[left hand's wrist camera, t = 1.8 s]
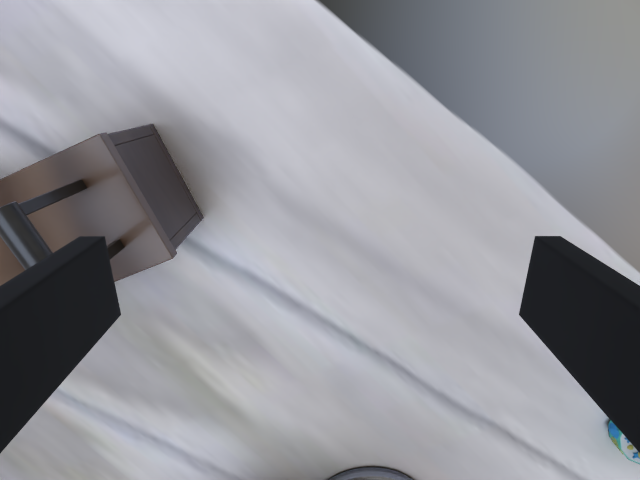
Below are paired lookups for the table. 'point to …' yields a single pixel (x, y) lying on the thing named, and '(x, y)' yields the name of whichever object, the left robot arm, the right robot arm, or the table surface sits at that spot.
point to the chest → (158, 180)
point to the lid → (78, 211)
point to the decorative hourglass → (623, 443)
